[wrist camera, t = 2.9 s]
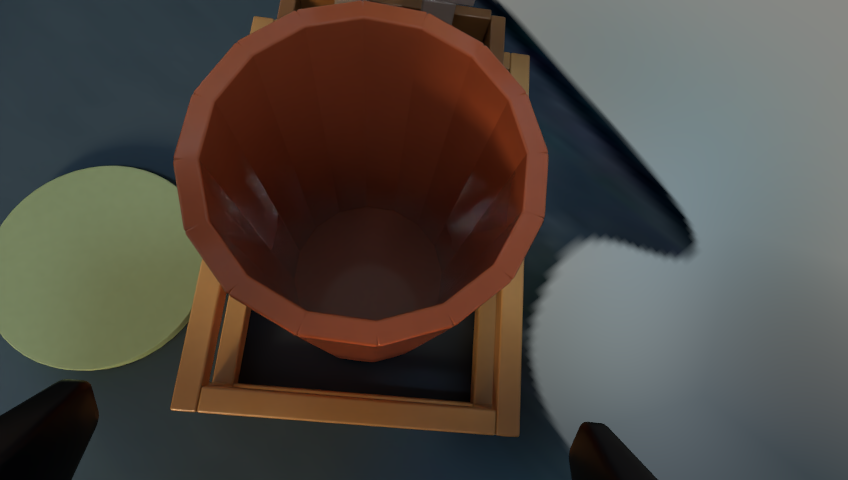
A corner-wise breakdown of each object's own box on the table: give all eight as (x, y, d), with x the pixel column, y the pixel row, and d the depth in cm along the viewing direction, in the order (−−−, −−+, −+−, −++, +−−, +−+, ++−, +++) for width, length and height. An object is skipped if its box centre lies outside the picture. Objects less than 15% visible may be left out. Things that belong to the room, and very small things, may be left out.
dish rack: (487, 423, 20) (635, 486, 9) (213, 402, 19) (-2, 441, 8) (501, 111, 24) (615, -114, 13) (274, 81, 23) (187, -189, 12)
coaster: (228, 338, 20) (224, 337, 19) (0, 396, 18) (-12, 397, 18) (196, 154, 22) (192, 147, 21) (-12, 193, 20) (-23, 188, 20)
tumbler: (466, 336, 21) (597, 287, 9) (306, 381, 20) (208, 393, 8) (424, 190, 22) (488, -20, 10) (273, 223, 21) (150, 29, 9)
